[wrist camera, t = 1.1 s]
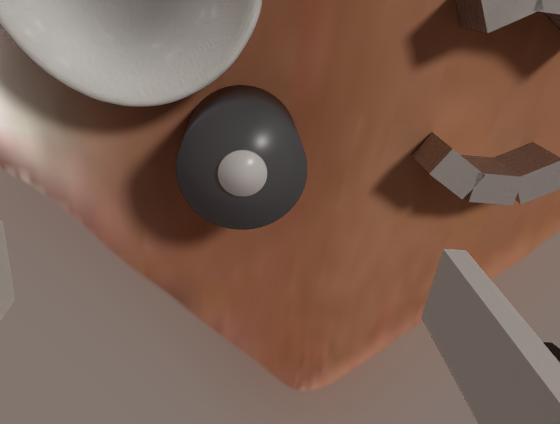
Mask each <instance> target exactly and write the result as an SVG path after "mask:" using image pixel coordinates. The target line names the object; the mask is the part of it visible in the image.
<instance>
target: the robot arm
mask: <svg viewBox="0 0 560 424" xmlns="http://www.w3.org/2000/svg"><path fill="white" fill-rule="evenodd" d="M14 300H15V295H14V289H13V283H12V277H11V270H10V264H9V258H8V252H7V246H6V240H5V233H4V228H3V221H2V220H0V321H1V319H2V318H3V316H4V315H5V313H6V312H7V310H8V309H9V308H10V306H11V305H12V303H13V302H14ZM421 318H422V320H423V322H424V324H425V325H426V327H427V329H428V331H429V333H430V335H431V337H432V338H433V340H434V342H435V344H436V346H437V348H438V350H439V351H440V353H441V355H442V357H443V359H444V361H445V363H446V364H447V366H448V368H449V370H450V372H451V373H452V376H453V377H454V379H455V381H456V383H457V385H458V387H459V388H460V390H461V392H462V394H463V396H464V398H465V400H466V402H467V403H468V405H469V407H470V409H471V411H472V413H473V415H474V416H475V418H476V420H477V422H478V424H560V349H559V348H558V347H557V346H555V345H554V344H553V343H546V342H542V341H541V340H540V338H539V337H538V336H537V335H536V334H535V333H534V331H533V330H532V329H531V328H530V326H529V325H528V324H527V323H526V322H525V320H524V319H523V318H522V317H521V316H520V314H519V313H518V312H517V311H516V310H515V309H514V307H513V306H512V305H511V304H510V302H509V301H508V300H507V299H506V298H505V296H504V295H503V294H502V293H501V292H500V291H499V289H498V288H497V287H496V286H495V284H494V283H493V282H492V281H491V280H490V278H489V277H488V276H487V275H486V274H485V272H484V271H483V270H482V269H481V268H480V266H479V265H478V264H477V263H476V262H475V260H474V259H473V258H472V257H471V256H470V254H469V253H468V252H467V251H466V250H452V249H443V252H442V255H441V258H440V261H439V264H438V267H437V270H436V274H435V277H434V280H433V283H432V286H431V289H430V292H429V295H428V298H427V302H426V305H425V308H424V311H423V314H422V317H421Z"/></svg>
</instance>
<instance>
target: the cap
mask: <svg viewBox="0 0 560 424" xmlns="http://www.w3.org/2000/svg"><path fill="white" fill-rule="evenodd" d="M176 172H177V180H178V184H179V187H180V190H181V192H182V194H183V196H184V198H185V199H186V201H187V202H188V204H189V205H190V206H191V207H192V208H193V210H194V211H196V212H197V213H198V214H199V215H200V216H202V217H203V218H205V219H206V220H208V221H210V222H212V223H214V224H216V225H219V226H222V227H226V228H230V229H243V230H245V229H254V228H259V227H262V226H265V225H268V224H270V223H273V222H275V221H276V220H278V219H280V218H281V217H283V216H284V215H285V214H286V213H288V212H289V211H290V210H291V208H292V207H293V206H294V205H295V204H296V202H297V201H298V199H299V198H300V196H301V194H302V192H303V189H304V187H305V183H306V179H307V160H306V155H305V152H304V149H303V146H302V143H301V141H300V138H299V135H298V133H297V130H296V127H295V125H294V122H293V119H292V117H291V115H290V113H289V111H288V110H287V108H286V107H285V106H284V105H283V104H282V102H281V101H280V100H278V99H277V98H276V97H275V96H273V95H272V94H270V93H269V92H267V91H265V90H263V89H260V88H257V87H253V86H247V85H235V86H229V87H224V88H222V89H219V90H217V91H215V92H213V93H211V94H210V95H208V96H207V97H206V98H204V99H203V100H202V101H201V102H200V103H199V105H198V106H197V107H196V108H195V110H194V112H193V113H192V115H191V118H190V120H189V123H188V126H187V129H186V132H185V135H184V138H183V141H182V144H181V147H180V150H179V153H178V157H177V165H176Z"/></svg>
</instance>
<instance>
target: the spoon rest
mask: <svg viewBox="0 0 560 424" xmlns="http://www.w3.org/2000/svg"><path fill="white" fill-rule="evenodd" d="M261 5H262V0H0V25H1V26H2V27H3V29H4V30H5V31H6V32H7V33H8V34H9V36H10V37H11V38H12V39H13V41H14V42H15V43H16V44H17V45H18V46H19V47H20V48H21V49H22V50H23V51H24V52H25V53H26V54H27V55H28V56H29V57H30V58H31V59H32V60H33V61H34V62H35V63H36V64H37V65H38V66H39V67H41V68H42V69H43V70H44V71H45V72H47V73H48V74H50V75H51V76H53V77H54V78H55V79H57V80H58V81H60V82H62V83H63V84H65V85H66V86H68V87H70V88H72V89H74V90H75V91H77V92H79V93H81V94H84V95H86V96H88V97H91V98H93V99H96V100H99V101H102V102H106V103H111V104H116V105H121V106H133V107H149V106H158V105H164V104H168V103H172V102H175V101H178V100H181V99H183V98H186V97H188V96H190V95H192V94H194V93H196V92H198V91H199V90H201V89H203V88H204V87H206V86H207V85H209V84H210V83H212V82H213V81H215V80H216V79H217V78H218V77H220V76H221V75H222V74H223V73H224V72H225V71H226V70H227V69H228V68H229V67H230V66H231V65H232V64H233V63H234V61H235V60H236V59H237V58H238V56H239V55H240V53H241V52H242V50H243V49H244V47H245V45H246V44H247V42H248V40H249V38H250V37H251V35H252V33H253V30H254V28H255V26H256V23H257V20H258V17H259V14H260V10H261Z"/></svg>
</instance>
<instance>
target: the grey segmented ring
mask: <svg viewBox="0 0 560 424" xmlns="http://www.w3.org/2000/svg"><path fill="white" fill-rule="evenodd" d="M456 5H457V10H458V14H459V19H460V23H461V27H463V28H467V29H471V30H476V31H480V32H484V33H490V32H492V31H494V30H496V29H499V28H501V27H503V26H506V25H508V24H510V23H512V22H515V21H517V20H519V19H522V18H524V17H526V16H528V15H531V14H533V13H535V12H543V13H545V14H546V15H547V16H548V17H549V18H550V19H551V20H552V21H553V22H554V23H555V24H556V25H557V26H558V27H559V29H560V0H456ZM412 156H413V157H414V158H415V160H416V161H417V162H418V163H419V164H420V165H421V166H422V167H423V168H424V169H425V170H426V171H427V172H428V173H429V174H430V175H431V176H432V177H434V178H435V179H436V180H438V181H439V182H440V183H442V184H443V185H444V186H445V187H447V188H448V189H449V190H451V191H452V192H453V193H454V194H456V195H457V196H458V197H460V198H461V199H463V198H465V199H466V200H467V201H468V202H476V203H489V204H501V205H513V204H514V201H515V200H516V201H517V202H518V203H520V204H523V203H525V202H528V201H530V200H533V199H535V198H538V197H540V196H543V195H546V194H548V193H551V192H553V191H556V190H558V189H560V157H558V156H557V155H555V154H553V153H551V152H550V151H548V150H546V149H544V148H543V147H541V146H539V145H537V144H536V143H534V142H532V143H530V144H527V145H525V146H523V147H520V148H518V149H515V150H513V151H510V152H508V153H505V154H503V155H500V156H498V157H495V158H488V157H478V156H467V155H460V154H458V153H457V152H456V151H455V150H453V149H452V148H451V147H450V146H449V145H447V144H446V143H445V142H444V141H442V140H441V139H440V138H439V137H438V136H436V135H435V134H434V133H433V132H432V133H431V134H430V135H429V136H428V137H427V138H426V140H425V141H424V142H423V143H422V144H421V145H420V146H419V147H418V149H417V150H416V151H415V152H414V153H413V154H412Z"/></svg>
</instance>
